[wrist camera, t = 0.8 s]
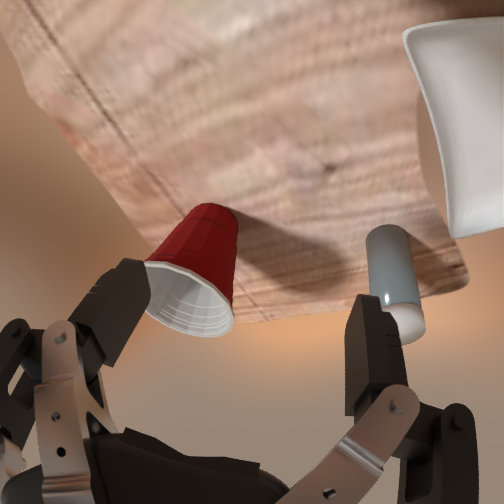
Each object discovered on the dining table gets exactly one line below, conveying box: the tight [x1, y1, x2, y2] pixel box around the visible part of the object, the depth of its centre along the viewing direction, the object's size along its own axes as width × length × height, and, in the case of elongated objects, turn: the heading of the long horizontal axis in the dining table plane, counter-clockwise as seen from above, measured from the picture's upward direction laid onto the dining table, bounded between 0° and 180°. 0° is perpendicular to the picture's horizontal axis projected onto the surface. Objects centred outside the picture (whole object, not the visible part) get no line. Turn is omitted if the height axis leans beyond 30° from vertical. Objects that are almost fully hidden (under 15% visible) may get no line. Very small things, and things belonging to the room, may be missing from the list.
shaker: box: [366, 225, 426, 346], centre depth 27 cm, size 5×5×12 cm
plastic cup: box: [144, 203, 238, 338], centre depth 30 cm, size 11×11×12 cm
